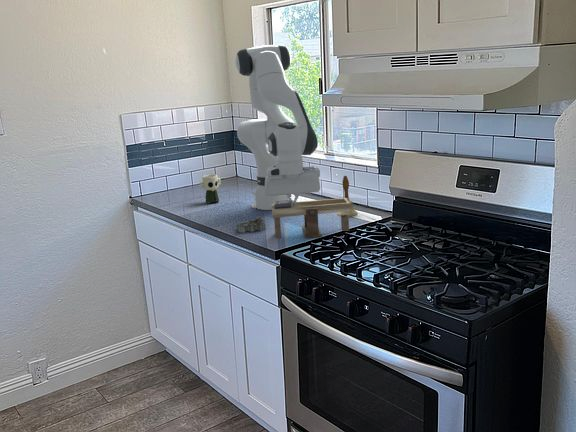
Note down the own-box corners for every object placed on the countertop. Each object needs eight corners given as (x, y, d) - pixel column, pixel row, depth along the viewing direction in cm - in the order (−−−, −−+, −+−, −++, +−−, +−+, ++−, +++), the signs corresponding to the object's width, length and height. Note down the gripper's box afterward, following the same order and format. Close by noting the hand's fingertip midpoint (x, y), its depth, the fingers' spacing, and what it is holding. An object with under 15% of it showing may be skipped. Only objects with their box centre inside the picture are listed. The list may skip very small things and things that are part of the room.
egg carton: (263, 226, 232) (262, 216, 231) (265, 230, 225) (265, 220, 224) (236, 228, 230) (235, 218, 229) (238, 233, 223) (237, 223, 222)
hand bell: (349, 217, 234) (348, 178, 230) (333, 215, 240) (331, 177, 236) (361, 213, 240) (360, 174, 236) (345, 210, 246) (343, 173, 242)
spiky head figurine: (205, 205, 272) (203, 178, 269) (198, 203, 278) (195, 176, 275) (226, 201, 278) (223, 174, 275) (218, 199, 284) (216, 173, 281)
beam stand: (274, 230, 223) (272, 203, 221) (344, 224, 224) (343, 197, 222) (276, 240, 209) (274, 212, 207) (351, 234, 210) (349, 206, 208)
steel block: (274, 210, 216) (274, 201, 216) (291, 208, 217) (290, 199, 216) (275, 213, 212) (274, 204, 211) (291, 212, 212) (291, 202, 211)
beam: (272, 211, 219) (271, 204, 218) (346, 205, 220) (346, 197, 219) (273, 217, 210) (272, 209, 209) (350, 211, 211) (349, 203, 210)
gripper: (318, 164, 214) (320, 201, 218) (262, 169, 213) (265, 206, 216) (320, 167, 208) (322, 205, 211) (263, 172, 207) (266, 210, 210)
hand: (293, 205), depth 214 cm, fingers closed
